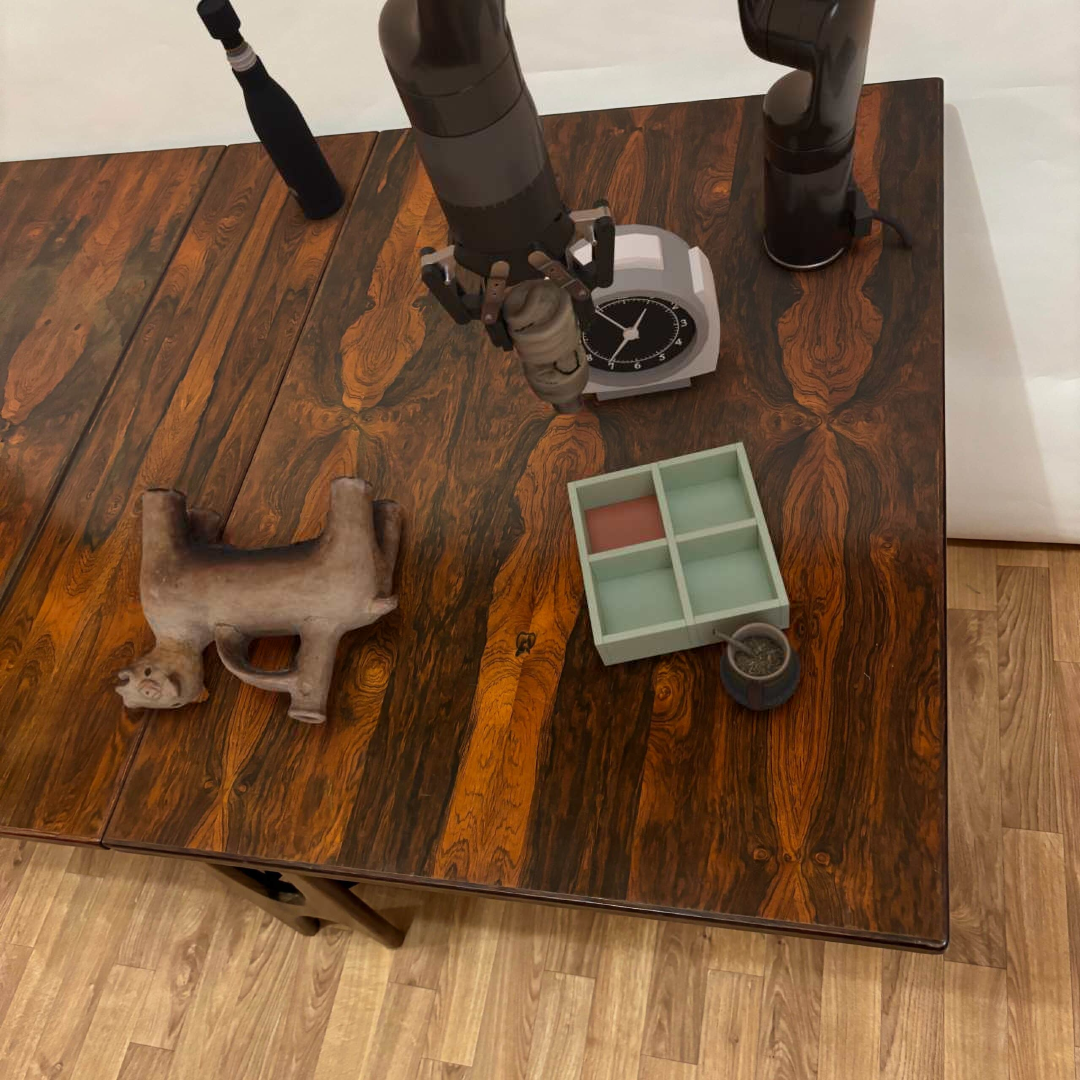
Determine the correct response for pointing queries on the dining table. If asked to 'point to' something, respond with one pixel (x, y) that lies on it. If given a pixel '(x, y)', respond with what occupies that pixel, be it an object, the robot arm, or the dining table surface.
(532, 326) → the grey-beige cylinder
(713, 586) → the divided tray
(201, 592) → the ceramic vessel
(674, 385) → the alarm clock
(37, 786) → the dining table surface
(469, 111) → the robot arm
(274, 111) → the wine bottle
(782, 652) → the mate gourd
